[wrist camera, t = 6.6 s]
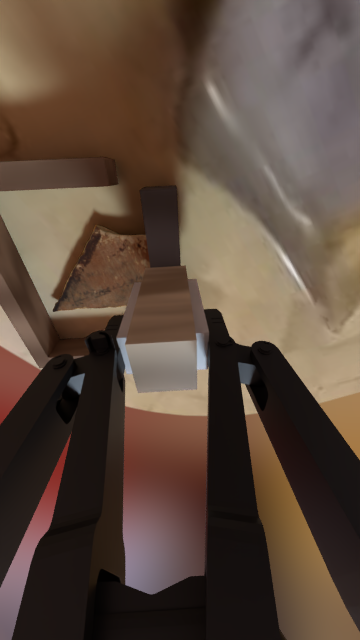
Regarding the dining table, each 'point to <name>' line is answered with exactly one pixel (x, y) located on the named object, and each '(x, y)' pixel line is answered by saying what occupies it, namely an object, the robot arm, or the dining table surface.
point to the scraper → (162, 304)
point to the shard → (105, 271)
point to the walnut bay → (7, 266)
